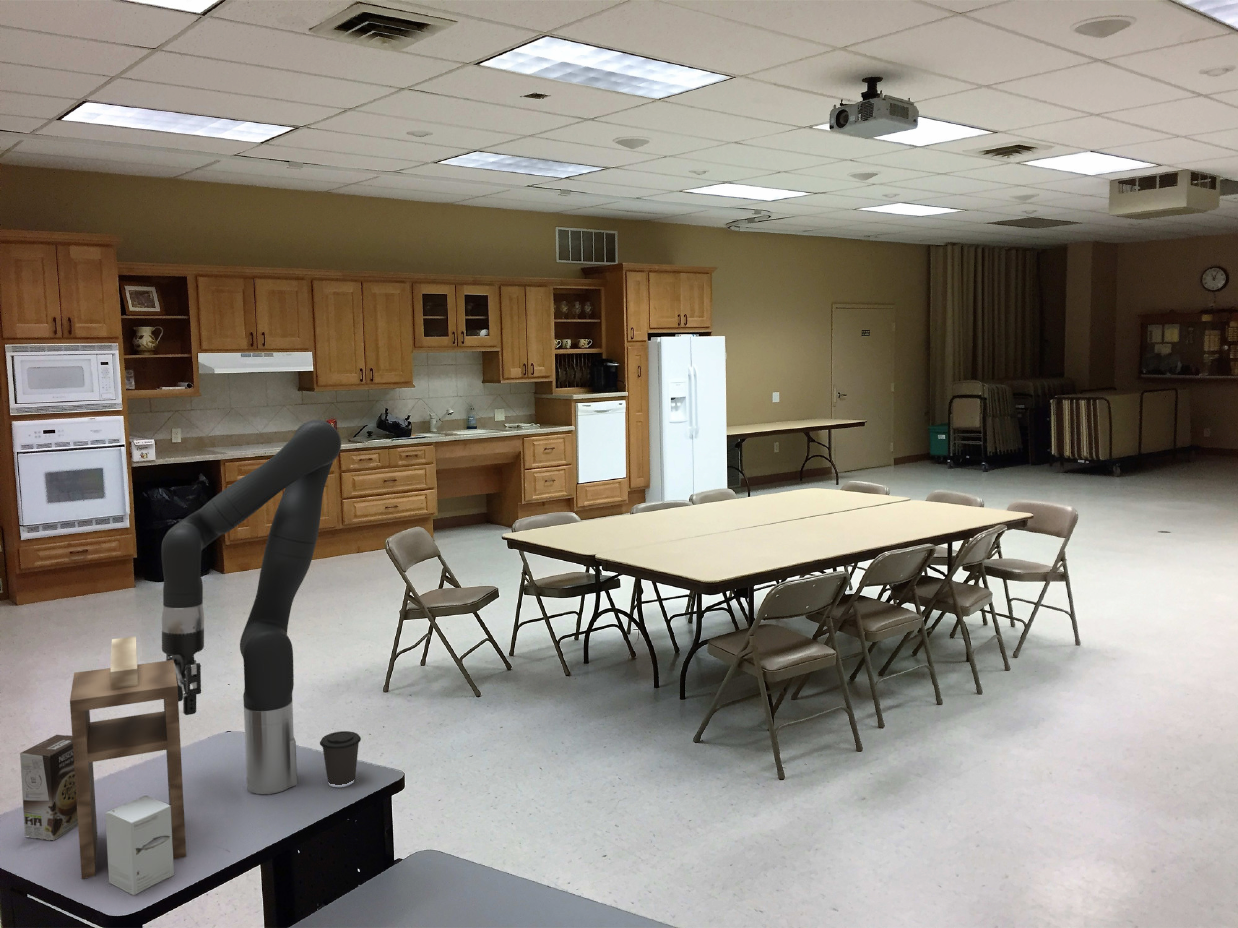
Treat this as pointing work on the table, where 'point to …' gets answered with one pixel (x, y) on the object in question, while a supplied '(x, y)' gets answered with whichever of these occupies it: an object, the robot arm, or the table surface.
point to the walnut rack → (124, 743)
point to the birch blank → (124, 663)
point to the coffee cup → (340, 756)
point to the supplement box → (139, 844)
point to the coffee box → (49, 788)
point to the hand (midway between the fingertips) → (183, 707)
